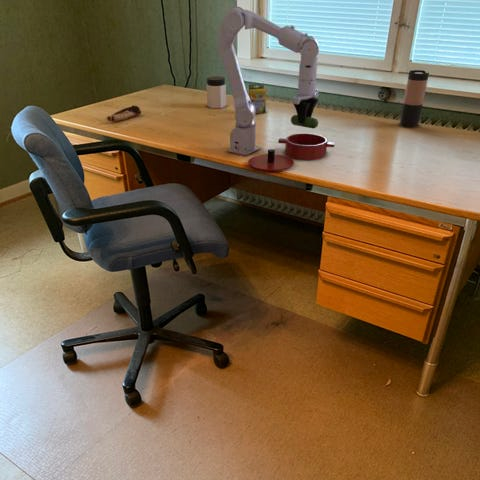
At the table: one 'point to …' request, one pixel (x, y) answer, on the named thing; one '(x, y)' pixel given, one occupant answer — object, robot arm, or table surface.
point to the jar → (216, 92)
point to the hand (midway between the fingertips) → (304, 121)
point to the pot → (306, 146)
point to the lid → (270, 162)
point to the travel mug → (413, 98)
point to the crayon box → (258, 97)
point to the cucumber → (308, 123)
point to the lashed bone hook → (125, 114)
